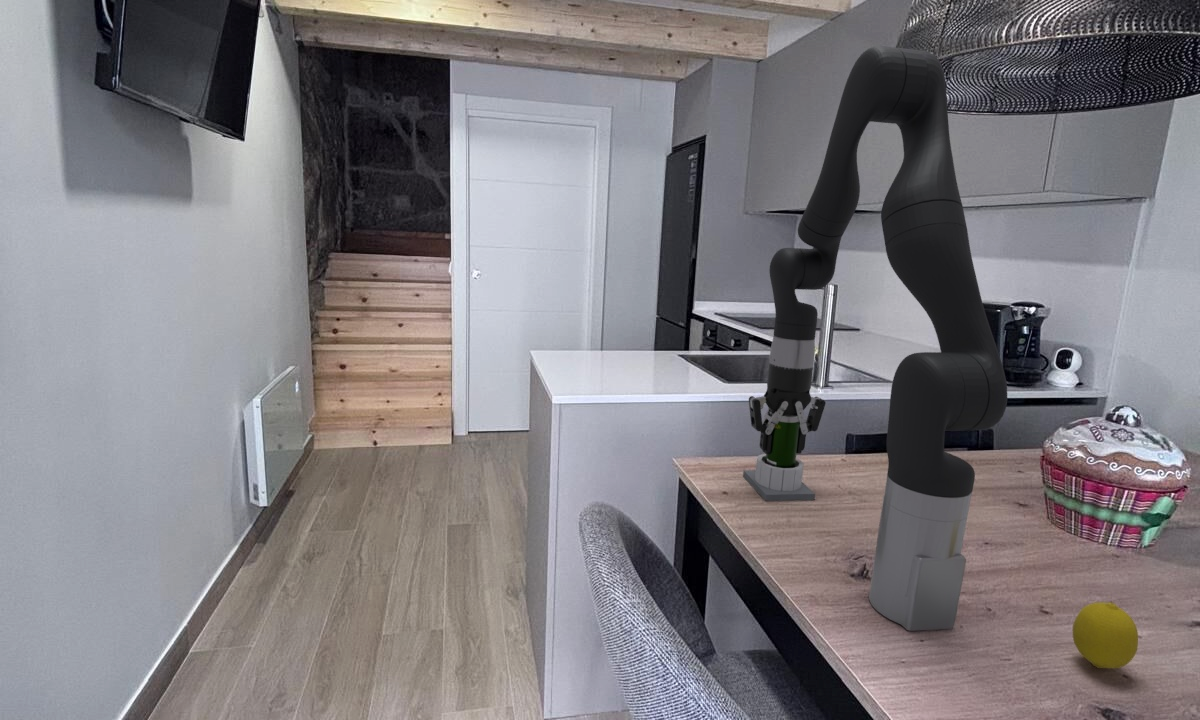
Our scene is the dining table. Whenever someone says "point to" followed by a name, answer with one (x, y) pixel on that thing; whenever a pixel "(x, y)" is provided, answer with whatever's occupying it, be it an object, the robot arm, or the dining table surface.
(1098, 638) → the lemon
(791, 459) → the beer can
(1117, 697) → the dining table surface
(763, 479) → the flanged pipe fitting
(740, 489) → the dining table surface
